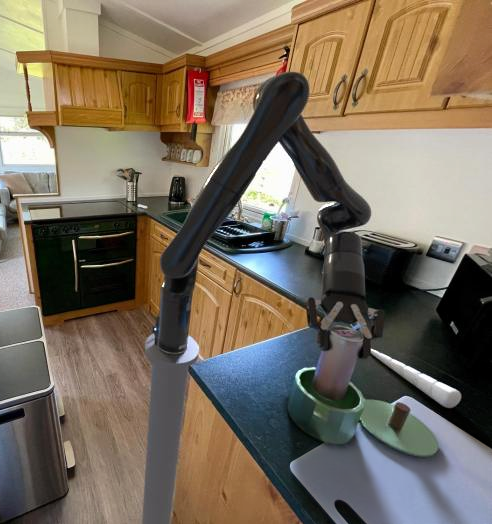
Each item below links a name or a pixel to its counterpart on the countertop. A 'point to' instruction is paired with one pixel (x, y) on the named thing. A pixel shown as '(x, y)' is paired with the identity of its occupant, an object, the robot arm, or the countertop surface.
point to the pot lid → (398, 428)
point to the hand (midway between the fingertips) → (343, 354)
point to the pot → (324, 410)
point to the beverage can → (337, 362)
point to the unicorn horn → (423, 382)
